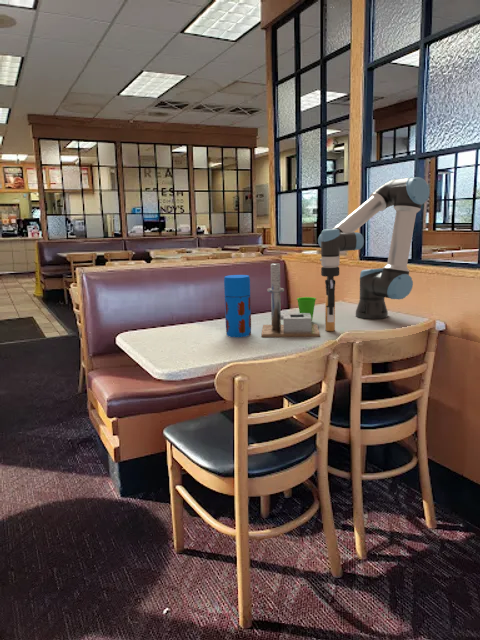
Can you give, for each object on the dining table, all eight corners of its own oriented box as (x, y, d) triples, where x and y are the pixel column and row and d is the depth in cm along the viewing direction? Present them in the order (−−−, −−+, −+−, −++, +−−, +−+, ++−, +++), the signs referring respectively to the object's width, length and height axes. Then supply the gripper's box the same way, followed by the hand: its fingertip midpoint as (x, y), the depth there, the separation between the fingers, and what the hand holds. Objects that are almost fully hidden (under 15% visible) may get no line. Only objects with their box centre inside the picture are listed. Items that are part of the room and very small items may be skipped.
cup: (315, 319, 233) (315, 296, 231) (316, 323, 224) (316, 300, 222) (296, 319, 234) (296, 297, 232) (297, 323, 225) (296, 300, 223)
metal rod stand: (316, 326, 218) (316, 261, 212) (319, 336, 201) (319, 265, 195) (263, 327, 220) (261, 262, 214) (261, 337, 203) (260, 267, 197)
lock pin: (334, 328, 212) (334, 294, 209) (335, 331, 208) (335, 296, 205) (325, 329, 212) (325, 295, 209) (325, 331, 208) (325, 296, 205)
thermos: (254, 332, 212) (253, 274, 207) (246, 338, 202) (245, 278, 197) (231, 331, 215) (229, 274, 210) (222, 336, 205) (220, 277, 200)
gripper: (319, 264, 213) (319, 316, 218) (322, 268, 196) (322, 325, 201) (337, 264, 212) (336, 316, 217) (341, 268, 196) (341, 325, 201)
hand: (330, 320), depth 209 cm, fingers closed on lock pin, 4 cm apart
